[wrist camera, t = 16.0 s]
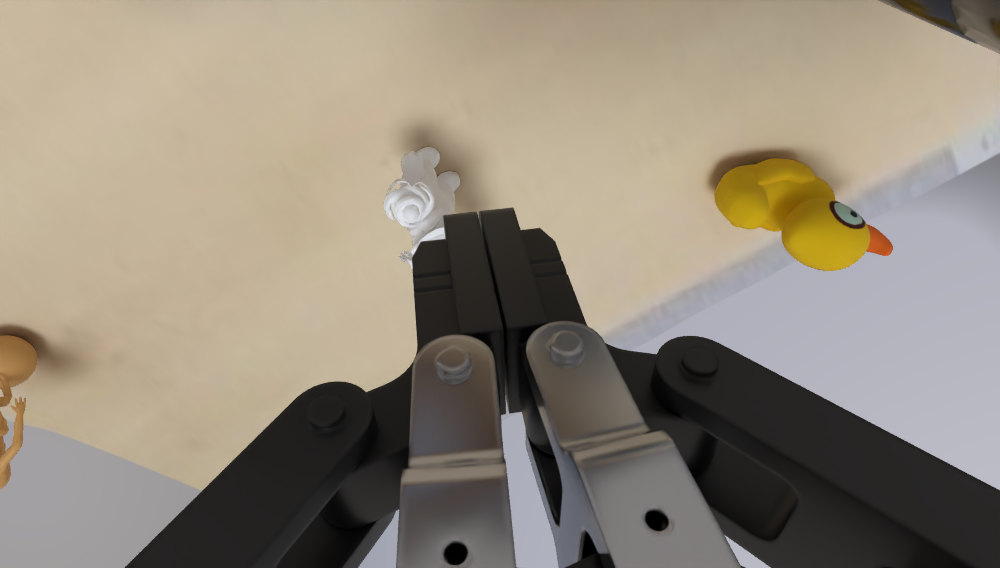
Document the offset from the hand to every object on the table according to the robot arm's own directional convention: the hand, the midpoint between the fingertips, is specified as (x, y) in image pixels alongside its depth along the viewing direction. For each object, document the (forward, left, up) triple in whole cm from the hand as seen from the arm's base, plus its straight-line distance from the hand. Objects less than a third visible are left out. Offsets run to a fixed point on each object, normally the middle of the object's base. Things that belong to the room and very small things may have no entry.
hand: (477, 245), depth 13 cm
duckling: (-20, +23, -27) cm, 41 cm away
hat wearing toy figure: (+4, +13, -27) cm, 30 cm away
